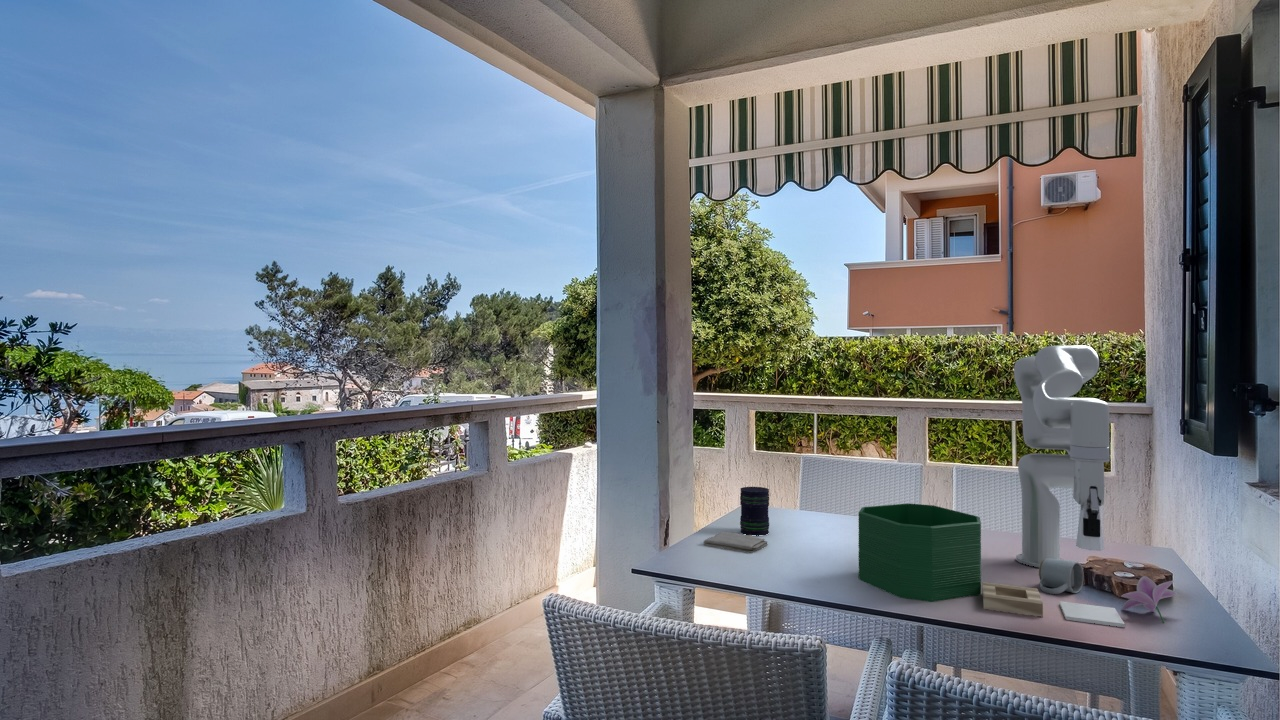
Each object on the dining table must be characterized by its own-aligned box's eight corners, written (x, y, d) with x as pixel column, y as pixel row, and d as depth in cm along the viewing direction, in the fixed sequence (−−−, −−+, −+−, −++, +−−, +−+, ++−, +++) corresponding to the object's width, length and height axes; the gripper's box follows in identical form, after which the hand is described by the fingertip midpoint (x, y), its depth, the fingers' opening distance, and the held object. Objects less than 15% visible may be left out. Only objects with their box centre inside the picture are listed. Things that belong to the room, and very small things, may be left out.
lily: (1189, 622, 156) (1169, 579, 161) (1196, 616, 147) (1175, 570, 152) (1129, 630, 161) (1111, 588, 166) (1132, 625, 152) (1113, 580, 157)
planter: (846, 574, 189) (846, 507, 189) (921, 565, 198) (921, 501, 198) (915, 605, 165) (914, 528, 165) (997, 592, 174) (996, 520, 174)
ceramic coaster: (1059, 604, 165) (1059, 601, 165) (1114, 611, 160) (1114, 608, 160) (1065, 619, 155) (1065, 616, 155) (1124, 627, 150) (1124, 623, 150)
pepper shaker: (1103, 546, 159) (1103, 498, 159) (1105, 552, 154) (1104, 502, 154) (1075, 543, 161) (1075, 496, 161) (1076, 548, 157) (1076, 500, 157)
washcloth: (754, 555, 209) (754, 545, 209) (701, 547, 219) (701, 537, 219) (769, 547, 219) (769, 537, 219) (718, 539, 229) (718, 529, 229)
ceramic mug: (1050, 582, 182) (1049, 553, 182) (1084, 590, 176) (1084, 559, 176) (1031, 590, 176) (1030, 560, 176) (1066, 599, 169) (1065, 567, 169)
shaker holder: (982, 594, 172) (982, 582, 172) (1037, 601, 167) (1037, 588, 167) (983, 609, 161) (983, 596, 161) (1042, 617, 156) (1042, 603, 156)
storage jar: (757, 537, 229) (757, 492, 229) (734, 532, 236) (734, 488, 236) (775, 533, 236) (775, 489, 236) (752, 528, 243) (752, 485, 243)
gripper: (1065, 449, 167) (1065, 524, 167) (1075, 457, 152) (1076, 540, 152) (1102, 450, 164) (1102, 528, 164) (1116, 459, 149) (1117, 544, 149)
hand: (1090, 533), depth 158 cm, fingers closed on pepper shaker, 4 cm apart
